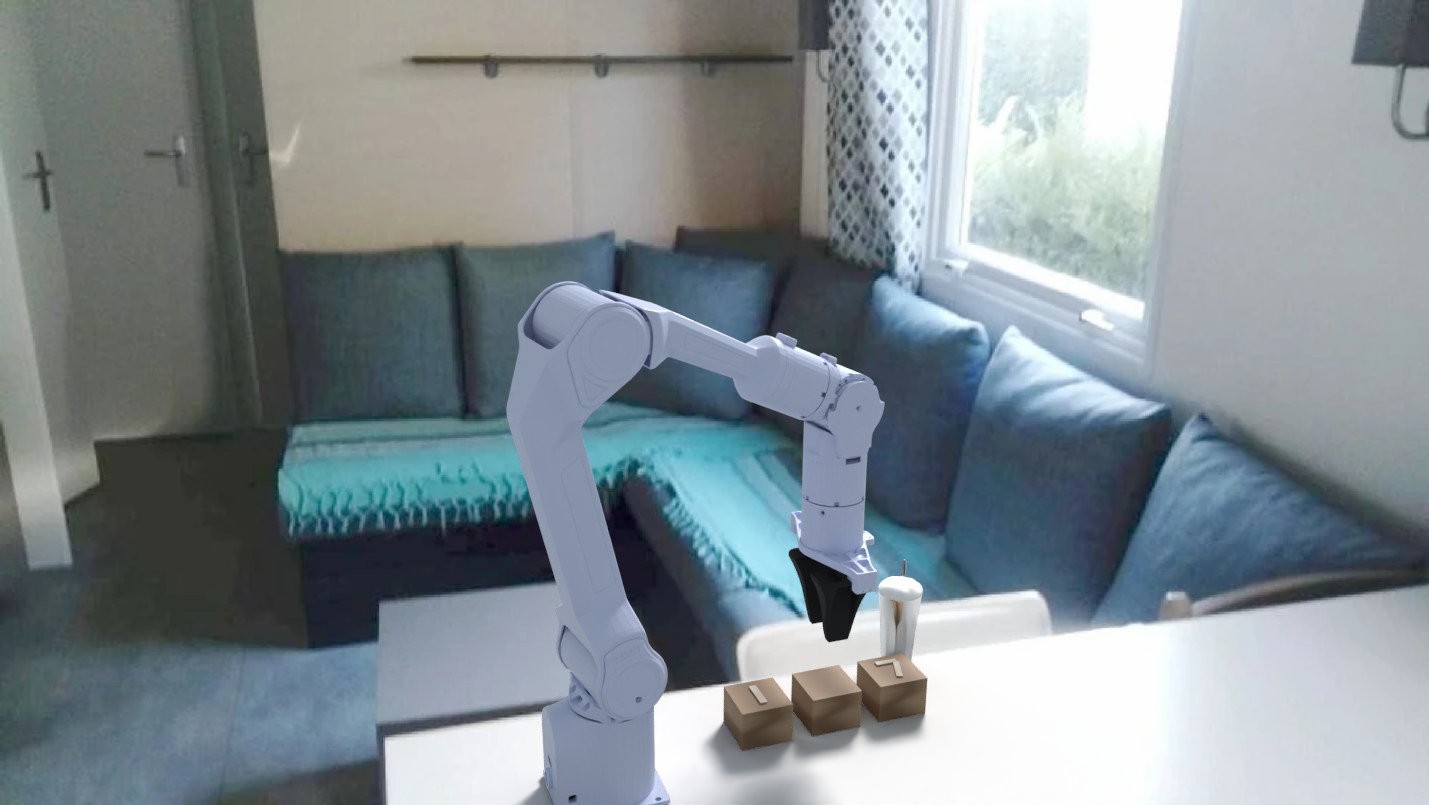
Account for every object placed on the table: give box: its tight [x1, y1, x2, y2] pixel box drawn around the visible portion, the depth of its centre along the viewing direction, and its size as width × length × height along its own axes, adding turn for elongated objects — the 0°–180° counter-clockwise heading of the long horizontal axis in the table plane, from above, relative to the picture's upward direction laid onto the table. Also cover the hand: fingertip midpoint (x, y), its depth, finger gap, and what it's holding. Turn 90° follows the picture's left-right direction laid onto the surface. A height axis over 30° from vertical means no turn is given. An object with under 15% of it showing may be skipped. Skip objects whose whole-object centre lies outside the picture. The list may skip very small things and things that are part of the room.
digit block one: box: [723, 677, 794, 752], centre depth 108 cm, size 5×5×4 cm
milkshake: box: [877, 559, 924, 662], centre depth 120 cm, size 4×5×10 cm
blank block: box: [790, 664, 862, 738], centre depth 110 cm, size 5×5×4 cm
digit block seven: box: [855, 653, 928, 724], centre depth 112 cm, size 5×5×4 cm
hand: (828, 629), depth 108 cm, fingers open, 3 cm apart
